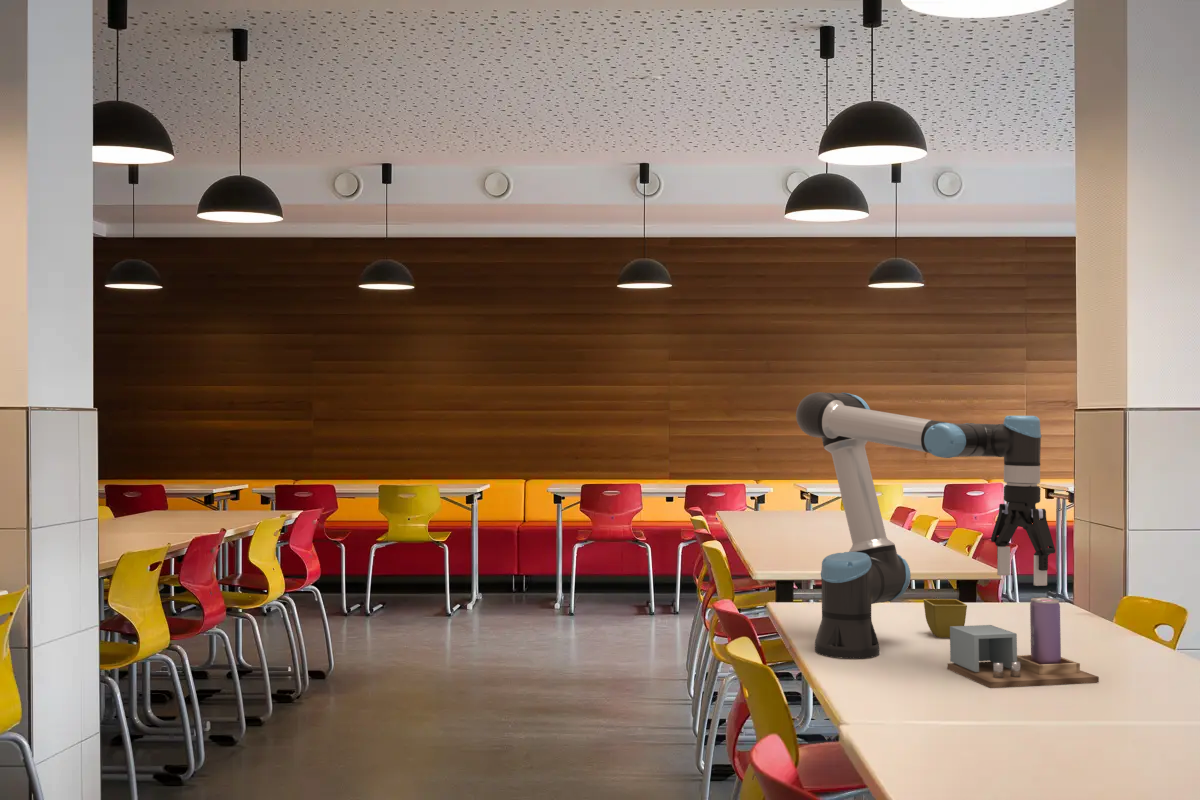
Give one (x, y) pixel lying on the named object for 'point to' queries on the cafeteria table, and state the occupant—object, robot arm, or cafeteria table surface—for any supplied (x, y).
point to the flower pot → (944, 615)
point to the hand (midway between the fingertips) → (1021, 580)
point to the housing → (981, 645)
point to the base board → (1028, 674)
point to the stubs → (1014, 669)
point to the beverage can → (1045, 631)
